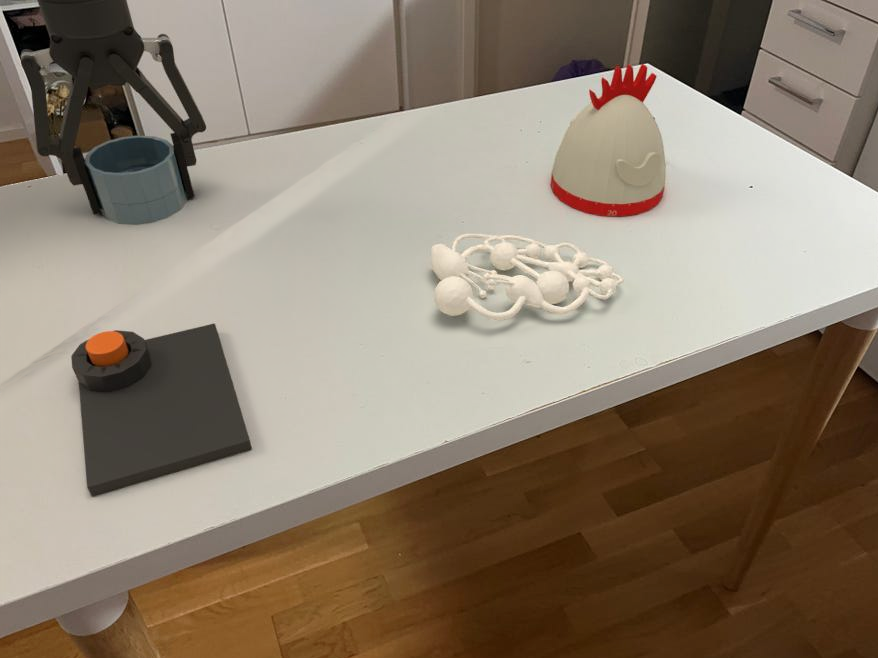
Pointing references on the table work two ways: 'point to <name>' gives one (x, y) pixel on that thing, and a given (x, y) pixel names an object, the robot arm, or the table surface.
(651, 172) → the kitchen timer
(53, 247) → the table surface
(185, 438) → the scale
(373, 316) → the table surface
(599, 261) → the tangled rod sculpture
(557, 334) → the table surface
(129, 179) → the bowl
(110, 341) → the tare button
